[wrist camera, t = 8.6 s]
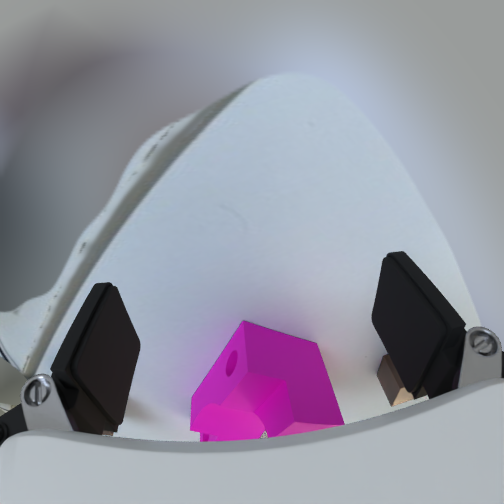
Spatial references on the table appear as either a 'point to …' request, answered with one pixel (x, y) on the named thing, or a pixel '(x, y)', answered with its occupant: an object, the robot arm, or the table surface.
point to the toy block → (264, 389)
